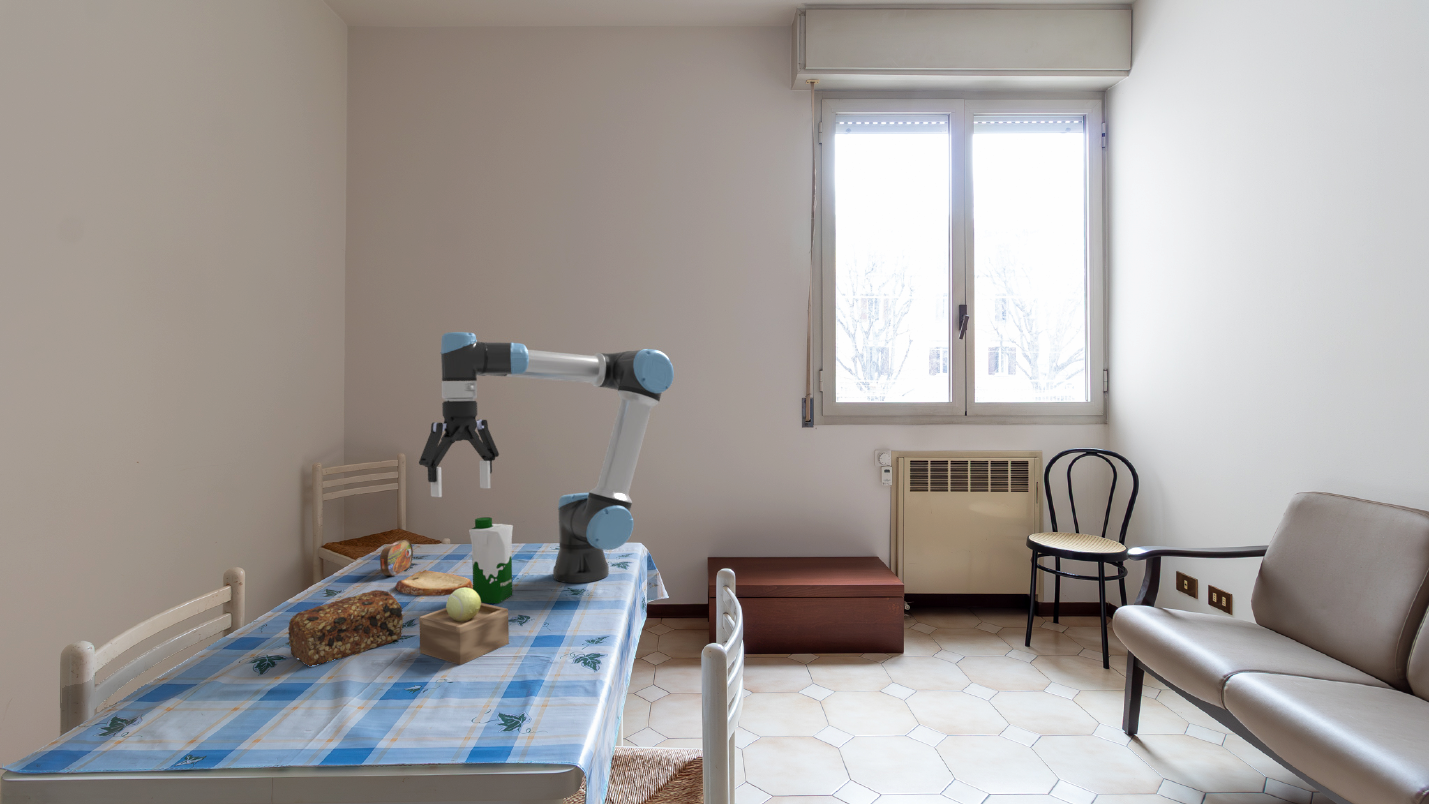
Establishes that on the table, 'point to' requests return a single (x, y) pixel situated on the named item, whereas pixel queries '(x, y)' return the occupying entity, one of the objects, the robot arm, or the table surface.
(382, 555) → the tin
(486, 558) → the milk carton
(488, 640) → the wooden box
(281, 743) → the table surface
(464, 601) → the tennis ball
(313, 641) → the bread
